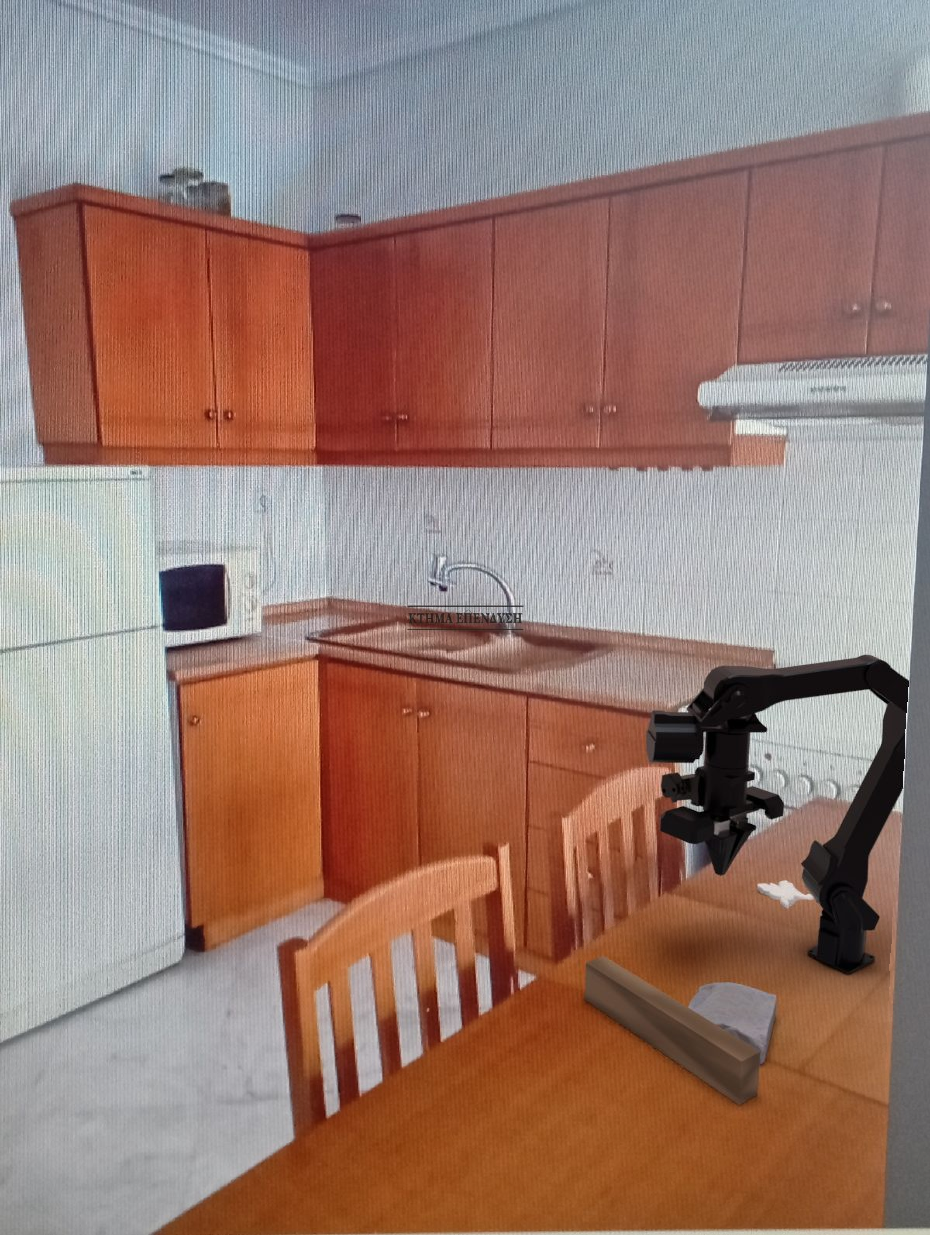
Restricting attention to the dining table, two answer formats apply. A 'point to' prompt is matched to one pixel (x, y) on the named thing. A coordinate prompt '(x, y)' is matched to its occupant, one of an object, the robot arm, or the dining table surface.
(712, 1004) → the stone block
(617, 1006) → the board
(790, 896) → the acanthus leaf ornament
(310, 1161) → the dining table surface
